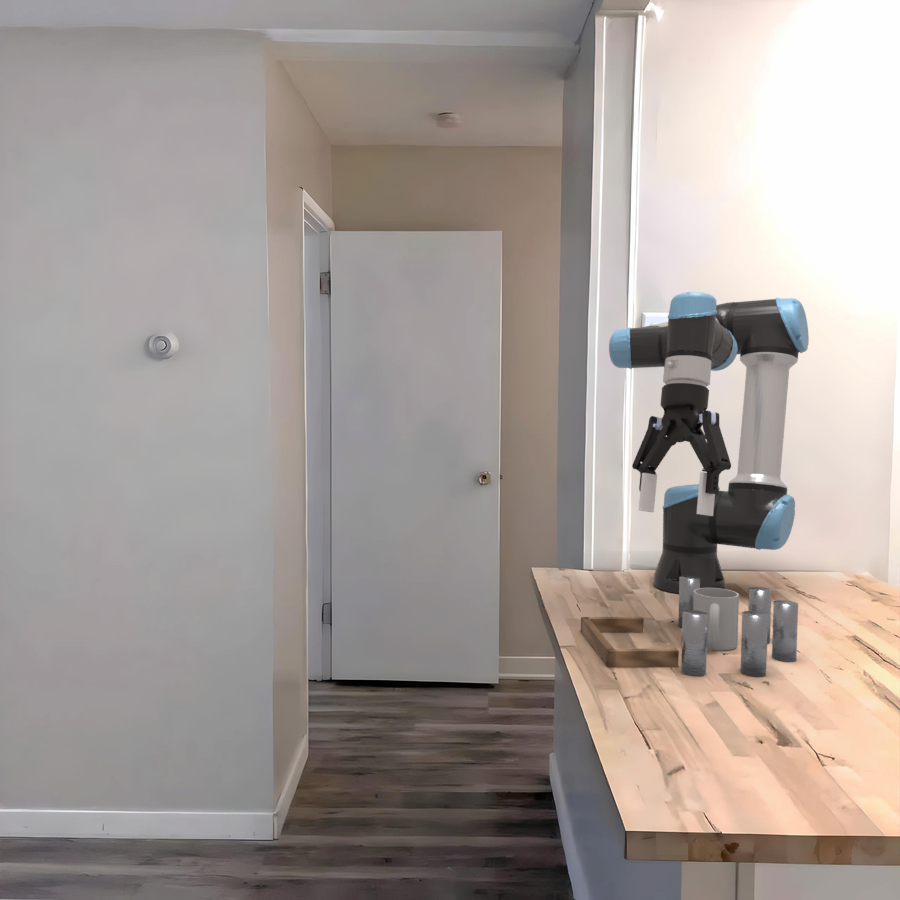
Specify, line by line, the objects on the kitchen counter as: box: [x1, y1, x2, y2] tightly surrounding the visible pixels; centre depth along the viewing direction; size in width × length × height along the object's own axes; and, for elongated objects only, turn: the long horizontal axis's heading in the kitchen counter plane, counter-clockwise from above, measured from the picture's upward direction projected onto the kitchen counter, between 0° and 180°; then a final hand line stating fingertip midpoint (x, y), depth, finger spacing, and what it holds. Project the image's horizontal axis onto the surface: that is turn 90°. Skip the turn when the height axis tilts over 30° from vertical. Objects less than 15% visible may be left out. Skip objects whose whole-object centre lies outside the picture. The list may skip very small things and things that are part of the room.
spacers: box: [677, 576, 799, 678], centre depth 126 cm, size 21×28×9 cm
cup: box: [693, 588, 740, 652], centre depth 126 cm, size 7×10×9 cm
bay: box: [580, 616, 680, 668], centre depth 126 cm, size 11×19×2 cm, turn 3°
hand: (674, 513), depth 123 cm, fingers open, 13 cm apart
